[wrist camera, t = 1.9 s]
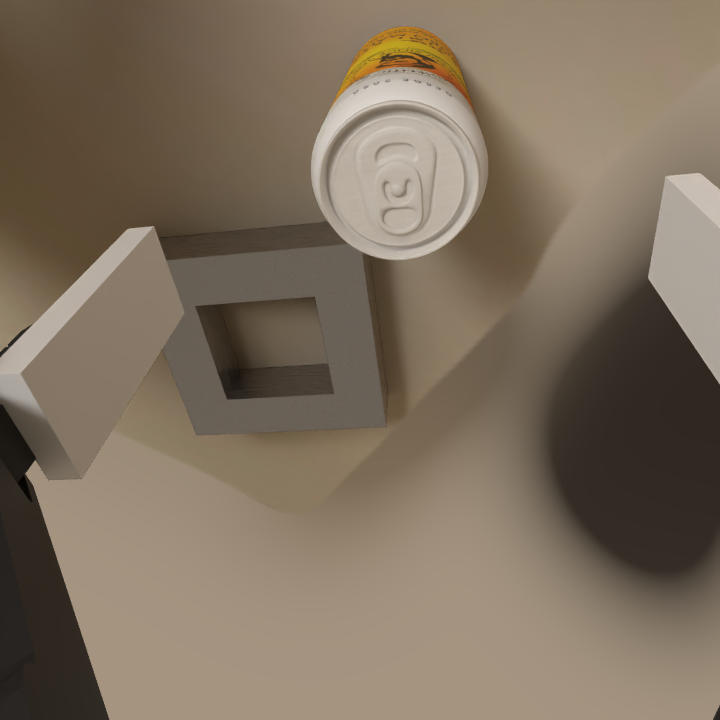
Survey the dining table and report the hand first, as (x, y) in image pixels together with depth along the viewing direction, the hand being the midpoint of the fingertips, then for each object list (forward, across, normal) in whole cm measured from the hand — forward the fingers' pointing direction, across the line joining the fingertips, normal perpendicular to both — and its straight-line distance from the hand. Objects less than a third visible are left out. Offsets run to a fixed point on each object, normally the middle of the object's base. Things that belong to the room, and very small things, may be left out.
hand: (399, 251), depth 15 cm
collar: (+20, -10, -14) cm, 26 cm away
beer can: (+20, 0, 0) cm, 20 cm away
